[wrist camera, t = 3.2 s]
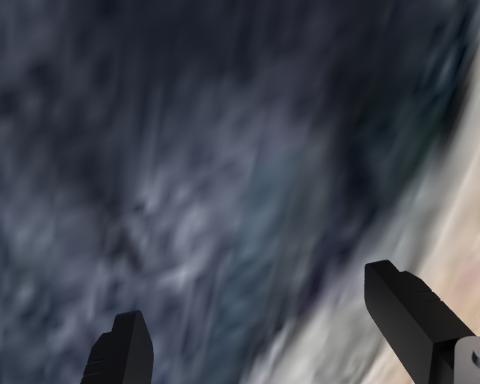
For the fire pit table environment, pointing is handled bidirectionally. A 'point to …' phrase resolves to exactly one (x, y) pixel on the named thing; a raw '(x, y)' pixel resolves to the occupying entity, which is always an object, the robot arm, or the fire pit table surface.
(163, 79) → the fire pit table surface
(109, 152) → the fire pit table surface
